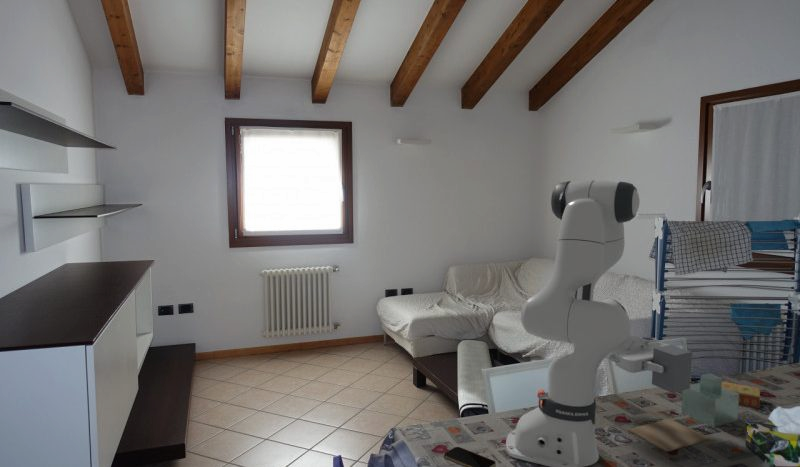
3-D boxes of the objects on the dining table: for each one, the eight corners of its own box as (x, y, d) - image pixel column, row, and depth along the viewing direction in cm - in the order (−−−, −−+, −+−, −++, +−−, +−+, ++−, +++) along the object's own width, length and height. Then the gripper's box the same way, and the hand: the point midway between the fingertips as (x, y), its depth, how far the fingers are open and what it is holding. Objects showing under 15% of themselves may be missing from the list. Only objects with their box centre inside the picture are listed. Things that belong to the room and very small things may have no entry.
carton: (759, 409, 157) (760, 396, 157) (698, 397, 166) (699, 384, 166) (759, 400, 164) (760, 387, 164) (700, 388, 173) (701, 376, 173)
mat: (666, 451, 131) (666, 449, 131) (628, 431, 142) (628, 429, 142) (709, 439, 138) (709, 437, 138) (669, 420, 148) (669, 418, 148)
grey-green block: (713, 427, 145) (716, 385, 144) (681, 412, 154) (683, 373, 153) (737, 420, 149) (740, 379, 148) (704, 407, 158) (706, 368, 157)
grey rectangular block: (672, 393, 135) (674, 355, 134) (651, 384, 140) (653, 348, 139) (689, 388, 137) (691, 352, 136) (668, 380, 143) (670, 344, 142)
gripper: (605, 346, 145) (646, 361, 133) (657, 336, 154) (701, 350, 141) (604, 368, 146) (645, 385, 133) (656, 357, 154) (699, 373, 142)
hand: (674, 367), depth 137 cm, fingers closed on grey rectangular block, 6 cm apart
